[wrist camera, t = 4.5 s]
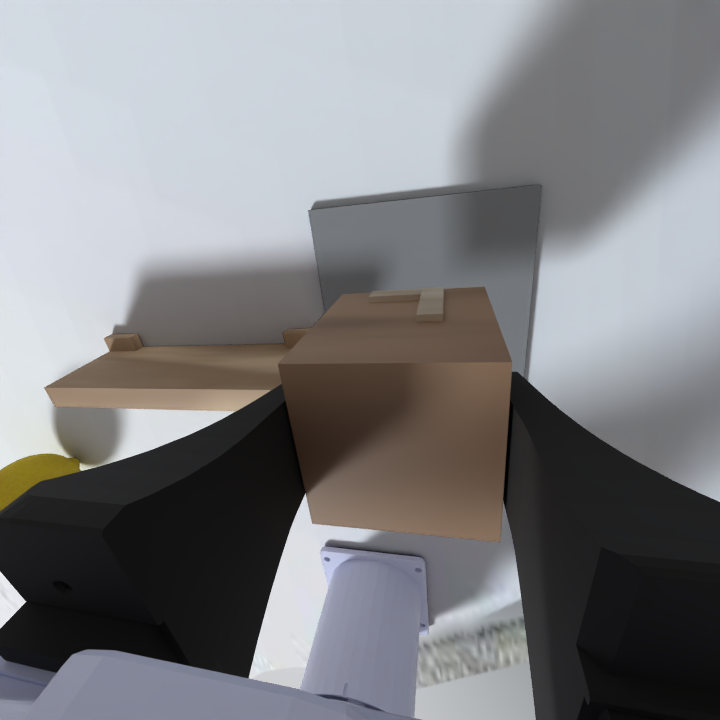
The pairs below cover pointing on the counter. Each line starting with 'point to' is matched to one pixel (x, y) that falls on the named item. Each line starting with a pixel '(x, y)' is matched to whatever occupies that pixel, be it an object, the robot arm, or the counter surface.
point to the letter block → (403, 412)
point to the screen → (174, 375)
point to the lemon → (32, 474)
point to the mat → (437, 250)
